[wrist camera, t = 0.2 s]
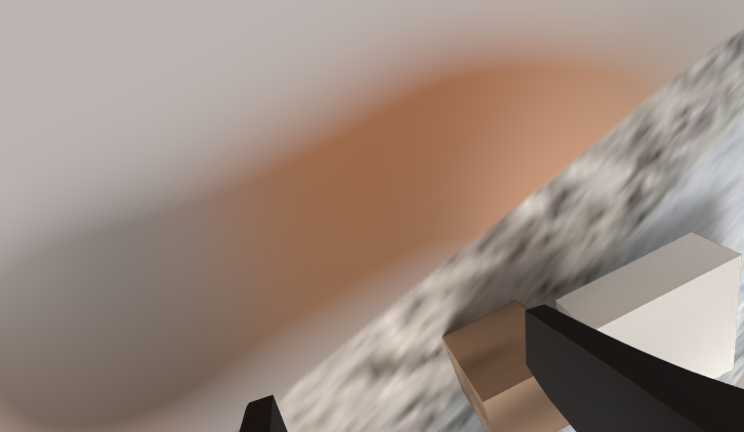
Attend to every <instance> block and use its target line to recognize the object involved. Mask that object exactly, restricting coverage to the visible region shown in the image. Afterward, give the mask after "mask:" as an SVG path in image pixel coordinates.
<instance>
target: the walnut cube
mask: <svg viewBox="0 0 744 432" xmlns="http://www.w3.org/2000/svg"><path fill="white" fill-rule="evenodd" d="M525 311H526V310H525V309H524V308H523V307H522V306H521V305H520V304H519V303H518V302H517V301H514V302H512V303H510V304H508V305H506V306H504V307H502V308H500V309H498V310H496V311H494V312H492V313H490V314H488V315H486V316H484V317H482V318H480V319H478V320H476V321H474V322H472V323H470V324H467V325H465V326H463V327H461V328H459V329H457V330H455V331H453V332H451V333H449V334H447V335H445V336H443V337H442V339H443V341H444V344H445V346H446V349H447V351H448V354H449V357H450V359H451V362H452V364H453V367H454V369H455V372H456V375H457V377H458V380H459V382H460V385H461V387H462V390H463V392H464V394H465V395H466V397H467V399H468V400H469V402H470V404H471V405H472V407H473V409H474V410H475V412H476V414H477V415H478V417H479V419H480V421H481V422H482V424H483V426H484V427H485V429H486V431H487V432H556V431H558V430H560V429H562V428H564V427H566V426H568V425H569V422H568V421H567V420H566V419H565V418H564V416H563V415H562V414H561V413H560V412H559V410H558V409H557V408H556V407H555V406H554V404H553V403H552V402H551V401H550V399H549V398H548V397H547V395H546V394H545V393H544V391H543V390H542V388H541V387H540V385H539V384H538V382H537V381H536V379H535V377H534V376H533V374H532V373H531V371H530V370H529V368H528V366H527V365H526V336H525Z"/></svg>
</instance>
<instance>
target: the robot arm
mask: <svg viewBox="0 0 744 432" xmlns="http://www.w3.org/2000/svg"><path fill="white" fill-rule="evenodd" d="M525 336H526V365H527V366H528V368H529V370H530V371H531V373H532V374H533V376H534V377H535V379H536V381H537V382H538V384H539V385H540V387H541V388H542V390H543V391H544V393H545V394H546V395H547V397H548V398H549V399H550V401H551V402H552V403H553V404H554V406H555V407H556V408H557V409H558V410H559V412H560V413H561V414H562V415H563V416H564V418H565V419H566V420H567V421H568V422H569V424H570V425H571V426H572V427H573V428H574V430H575V431H576V432H744V389H741V388H738V387H735V386H732V385H729V384H726V383H723V382H721V381H718V380H715V379H712V378H709V377H707V376H704V375H701V374H698V373H695V372H692V371H690V370H687V369H685V368H682V367H679V366H677V365H674V364H672V363H670V362H667V361H665V360H662V359H660V358H658V357H655V356H653V355H650V354H648V353H646V352H643V351H641V350H639V349H637V348H634V347H632V346H630V345H628V344H626V343H623V342H621V341H619V340H617V339H615V338H613V337H610V336H608V335H606V334H604V333H602V332H600V331H598V330H596V329H594V328H592V327H590V326H588V325H586V324H584V323H582V322H580V321H578V320H576V319H574V318H572V317H569V316H567V315H565V314H563V313H561V312H559V311H557V310H555V309H553V308H551V307H549V306H547V305H541V306H538V307H535V308H532V309H529V310H526V311H525ZM239 432H287V429H286V427H285V424H284V422H283V419H282V416H281V414H280V411H279V409H278V406H277V404H276V401H275V399H274V396H273V395H271V396H268V397H265V398H262V399H259V400H256V401H253V402H250V403H249V404H248V405H247V407H246V410H245V414H244V417H243V421H242V424H241V428H240V431H239Z"/></svg>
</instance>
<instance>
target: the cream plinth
mask: <svg viewBox="0 0 744 432" xmlns="http://www.w3.org/2000/svg"><path fill="white" fill-rule="evenodd" d="M741 262H742V254H740V253H737V252H735V251H733V250H731V249H728V248H726V247H724V246H722V245H719V244H717V243H715V242H713V241H710V240H708V239H706V238H704V237H701V236H699V235H697V234H695V233H692V232H690V233H688V234H686V235H684V236H682V237H680V238H678V239H676V240H674V241H672V242H670V243H668V244H666V245H664V246H662V247H660V248H658V249H656V250H654V251H653V252H651V253H649V254H647V255H645V256H643V257H641V258H639V259H637V260H635V261H633V262H631V263H629V264H627V265H625V266H623V267H621V268H619V269H617V270H615V271H613V272H611V273H609V274H607V275H605V276H603V277H601V278H599V279H597V280H595V281H593V282H591V283H589V284H587V285H585V286H583V287H581V288H579V289H577V290H575V291H573V292H571V293H569V294H567V295H565V296H563V297H561V298H559V299H557V300H555V301H556V306H557V311H559V312H561V313H563V314H565V315H567V316H569V317H572V318H574V319H576V320H578V321H580V322H582V323H584V324H586V325H588V326H590V327H592V328H594V329H596V330H598V331H600V332H602V333H604V334H606V335H608V336H610V337H613V338H615V339H617V340H619V341H621V342H623V343H626V344H628V345H630V346H632V347H634V348H637V349H639V350H641V351H643V352H646V353H648V354H650V355H653V356H655V357H658V358H660V359H662V360H665V361H667V362H670V363H672V364H674V365H677V366H679V367H682V368H685V369H687V370H690V371H692V372H695V373H698V374H701V375H704V376H707V377H709V378H712V379H715V378H717V377H719V376H720V375H722V374H724V373H726V372H728V371H730V370H732V369H733V364H734V351H735V339H736V326H737V313H738V300H739V288H740V275H741Z"/></svg>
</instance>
